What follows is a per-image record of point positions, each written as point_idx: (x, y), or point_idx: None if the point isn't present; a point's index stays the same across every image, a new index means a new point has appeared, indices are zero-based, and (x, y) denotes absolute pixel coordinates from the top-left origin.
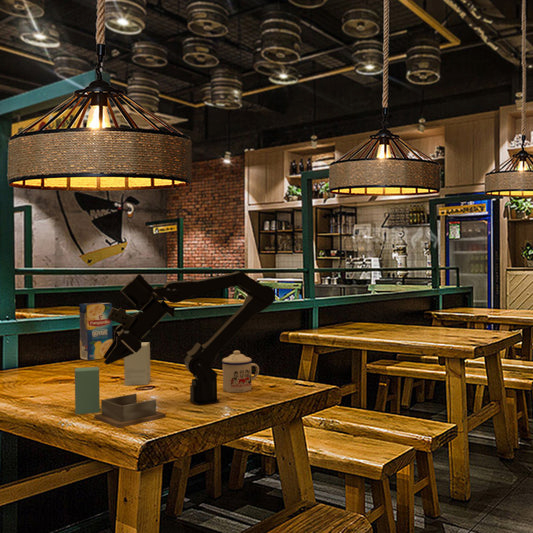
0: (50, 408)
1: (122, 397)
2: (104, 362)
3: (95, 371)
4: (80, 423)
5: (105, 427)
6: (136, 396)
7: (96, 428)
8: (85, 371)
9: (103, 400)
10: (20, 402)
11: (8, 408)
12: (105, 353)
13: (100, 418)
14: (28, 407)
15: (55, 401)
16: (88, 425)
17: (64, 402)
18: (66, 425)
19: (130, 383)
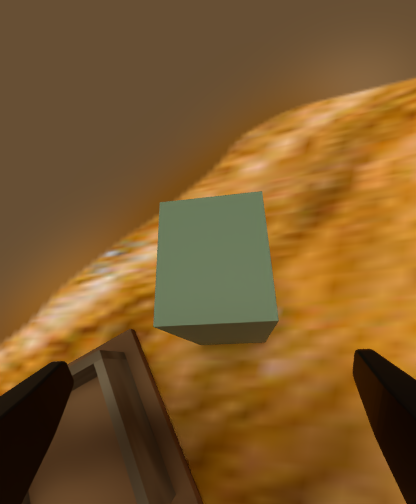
0: (292, 198)
1: (120, 445)
2: (55, 363)
3: (156, 306)
4: (98, 295)
5: (26, 366)
6: None
7: (30, 340)
8: (157, 252)
9: (87, 358)
10: (382, 116)
11: (313, 109)
12: (373, 371)
13: (95, 349)
14: (315, 146)
15: (387, 196)
16: (68, 317)
17: (369, 223)
18: (95, 262)
19: None
